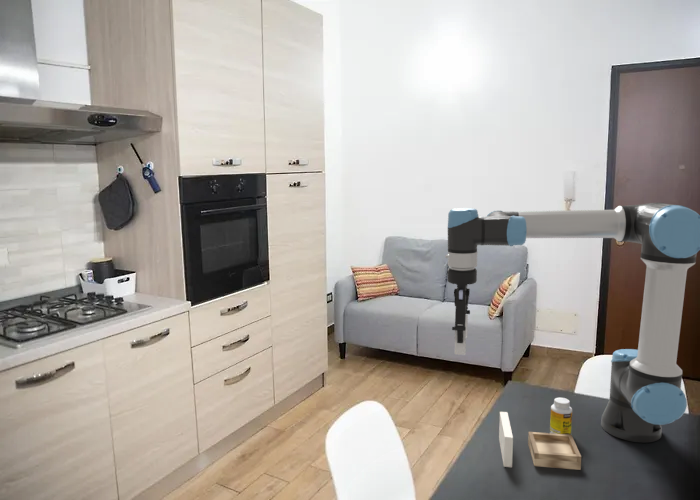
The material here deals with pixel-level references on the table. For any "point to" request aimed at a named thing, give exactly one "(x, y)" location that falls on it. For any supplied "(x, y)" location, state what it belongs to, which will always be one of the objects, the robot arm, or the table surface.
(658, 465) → the table surface
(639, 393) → the robot arm
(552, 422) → the supplement bottle
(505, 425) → the backstop
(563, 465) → the beige shadow box
